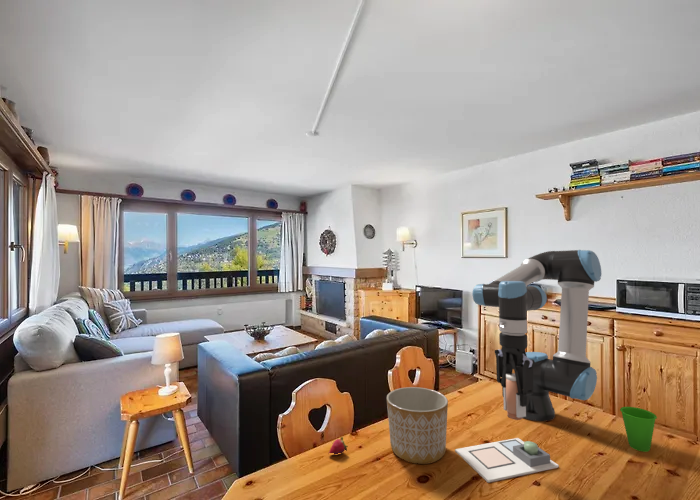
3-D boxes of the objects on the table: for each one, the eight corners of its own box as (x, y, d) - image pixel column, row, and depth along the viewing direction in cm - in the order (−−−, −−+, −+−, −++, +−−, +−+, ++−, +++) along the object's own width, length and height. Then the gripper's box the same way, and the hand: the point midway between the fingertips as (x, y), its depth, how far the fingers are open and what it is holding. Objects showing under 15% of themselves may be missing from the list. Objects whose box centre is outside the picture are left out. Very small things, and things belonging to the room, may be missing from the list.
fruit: (326, 452, 108) (326, 437, 108) (344, 449, 110) (344, 433, 110) (330, 460, 104) (329, 443, 104) (348, 456, 106) (348, 440, 106)
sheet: (455, 451, 108) (455, 448, 108) (518, 439, 114) (518, 437, 114) (487, 482, 93) (487, 480, 93) (558, 467, 99) (558, 464, 99)
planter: (453, 441, 114) (452, 391, 114) (443, 475, 96) (441, 416, 97) (397, 430, 122) (396, 383, 122) (379, 459, 104) (378, 404, 105)
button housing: (513, 454, 105) (512, 446, 105) (531, 450, 107) (531, 442, 107) (530, 467, 98) (530, 458, 98) (550, 463, 100) (550, 454, 100)
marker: (503, 414, 102) (502, 373, 102) (515, 412, 103) (514, 372, 104) (514, 421, 98) (513, 378, 98) (526, 419, 99) (525, 377, 99)
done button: (521, 450, 104) (521, 442, 104) (531, 448, 105) (531, 440, 105) (530, 456, 100) (530, 448, 100) (540, 454, 101) (540, 446, 101)
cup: (665, 457, 103) (664, 420, 104) (631, 454, 105) (630, 417, 105) (646, 441, 112) (645, 407, 112) (615, 438, 114) (613, 405, 114)
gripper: (483, 328, 109) (484, 402, 108) (525, 340, 92) (527, 428, 91) (502, 327, 111) (503, 400, 110) (547, 338, 94) (549, 424, 93)
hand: (514, 412), depth 100 cm, fingers closed on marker, 4 cm apart
